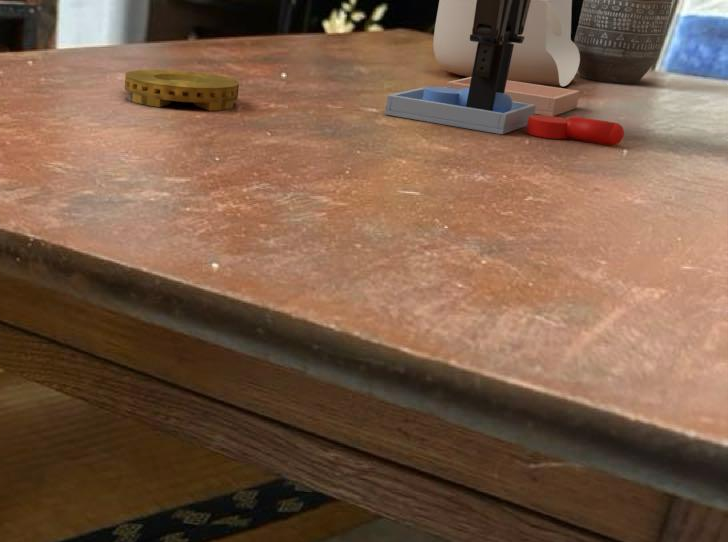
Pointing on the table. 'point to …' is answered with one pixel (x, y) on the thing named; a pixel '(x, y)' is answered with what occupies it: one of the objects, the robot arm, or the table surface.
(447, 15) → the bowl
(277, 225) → the table surface
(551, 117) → the red spoon
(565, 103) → the rose tray
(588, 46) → the planter
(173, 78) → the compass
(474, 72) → the robot arm
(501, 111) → the blue spoon
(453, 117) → the blue tray
